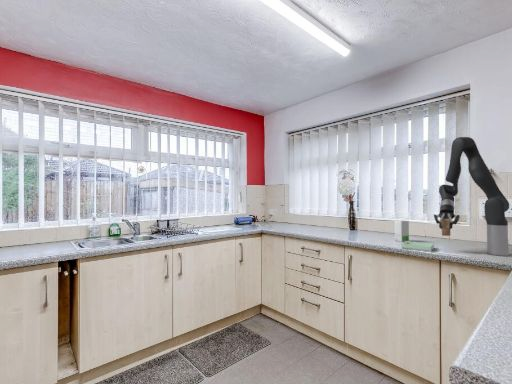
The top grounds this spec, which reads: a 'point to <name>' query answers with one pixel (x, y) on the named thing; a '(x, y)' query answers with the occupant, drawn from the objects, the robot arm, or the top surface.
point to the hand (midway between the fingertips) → (445, 228)
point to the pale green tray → (418, 246)
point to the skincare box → (401, 230)
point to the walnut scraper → (445, 227)
